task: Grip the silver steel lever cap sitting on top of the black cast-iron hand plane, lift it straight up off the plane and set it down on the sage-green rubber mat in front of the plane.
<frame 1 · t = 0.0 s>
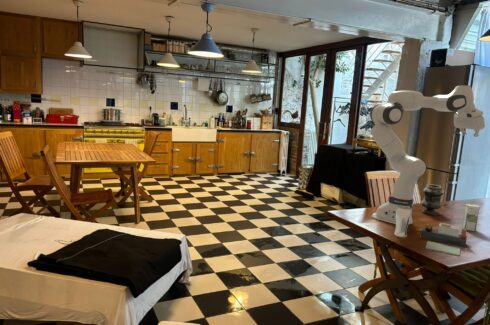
hand: (470, 135, 209), 52 cm above the table, tool tilted 20°, fingers open, 8 cm apart
syrup box: (468, 229, 204), on the table
beer glass: (400, 235, 188), on the table
rubber mat: (442, 248, 172), on the table
lever cap: (448, 233, 182), point 4 cm above the table, touching plane body
plane body: (442, 240, 183), on the table
apothecary jar: (430, 212, 234), on the table
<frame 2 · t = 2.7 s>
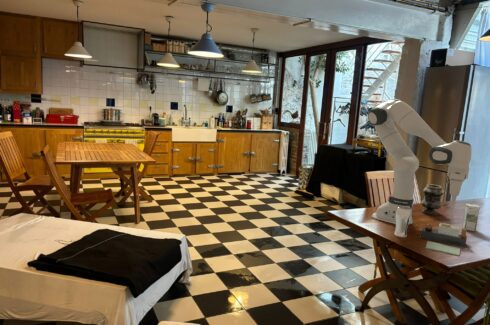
hand: (453, 201, 179), 21 cm above the table, tool pointing down, fingers open, 8 cm apart
nothing on the table moved.
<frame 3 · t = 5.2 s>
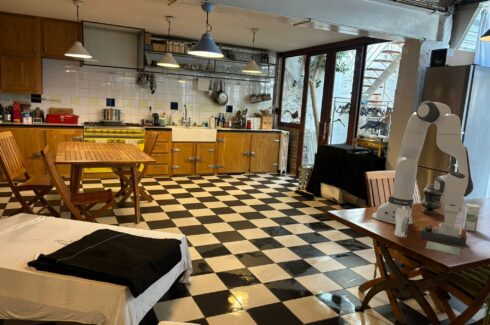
hand: (448, 231, 181), 5 cm above the table, tool pointing down, fingers closed on lever cap, 5 cm apart
lever cap: (448, 233, 182), point 4 cm above the table, touching gripper, plane body
everything else where it was.
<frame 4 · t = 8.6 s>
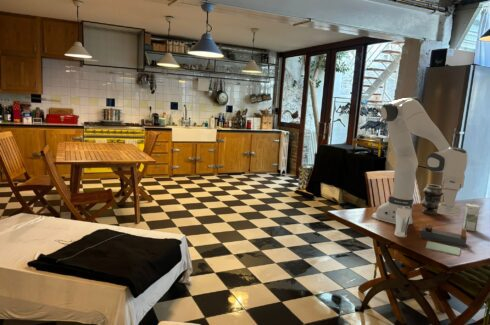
hand: (448, 211, 169), 19 cm above the table, tool pointing down, fingers closed on lever cap, 5 cm apart
lever cap: (448, 213, 169), point 17 cm above the table, touching gripper
everything else where it was.
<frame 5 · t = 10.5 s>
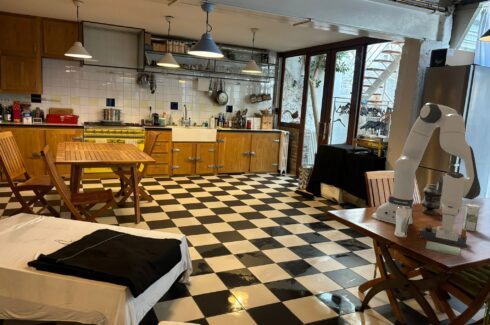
hand: (446, 234, 171), 7 cm above the table, tool pointing down, fingers closed on lever cap, 5 cm apart
lever cap: (446, 237, 171), point 6 cm above the table, touching gripper
everything else where it was.
when the fingers open (3 cm above the table, at t = 12.2 s): lever cap drops 1 cm, resting on rubber mat.
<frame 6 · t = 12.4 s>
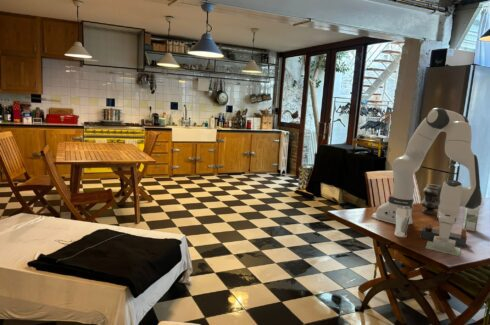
hand: (443, 242, 172), 3 cm above the table, tool pointing down, fingers open, 6 cm apart
lever cap: (443, 247, 172), point 1 cm above the table, touching rubber mat
everything else where it was.
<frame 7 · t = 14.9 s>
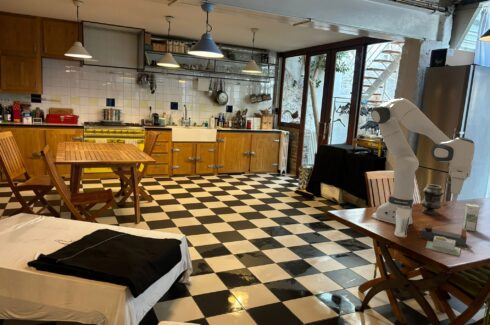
hand: (454, 199, 174), 23 cm above the table, tool pointing down, fingers open, 8 cm apart
nothing on the table moved.
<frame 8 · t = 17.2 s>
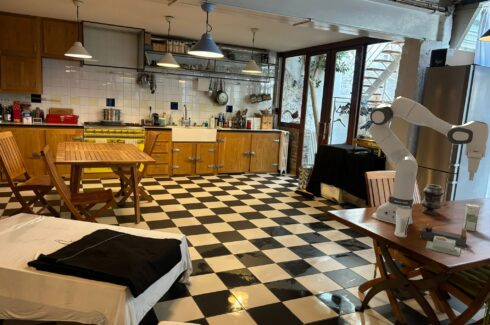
hand: (470, 179, 187), 31 cm above the table, tool pointing down, fingers open, 8 cm apart
nothing on the table moved.
at the end: lever cap inside the target area on the rubber mat (0.2 cm from its centre), point 0.6 cm above the rubber mat's base; lever cap tilted 0°; the gripper is holding nothing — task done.
